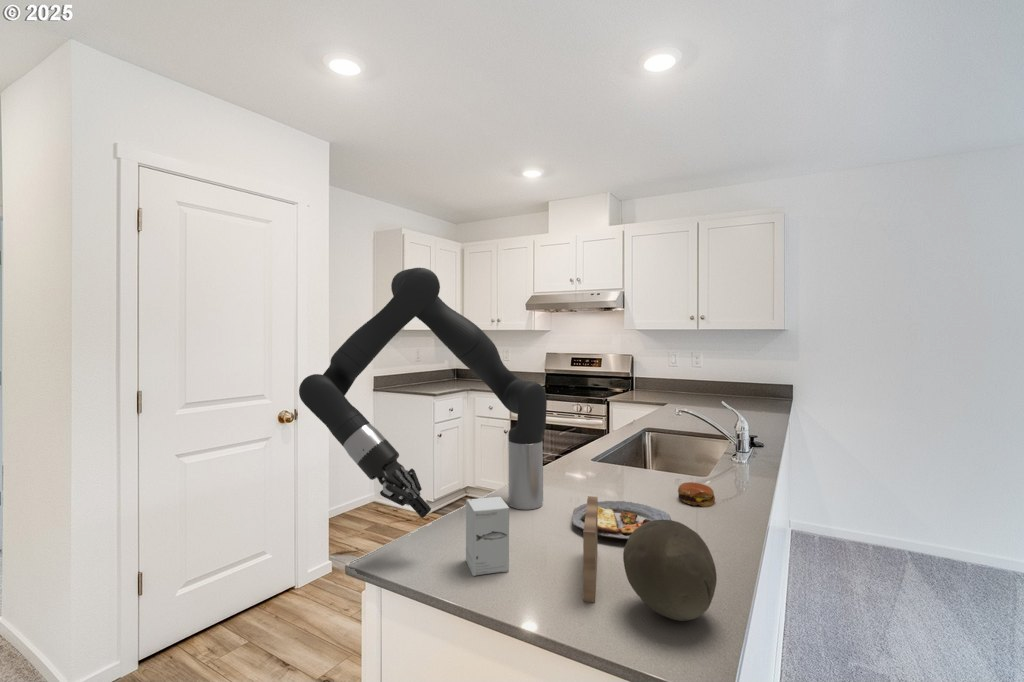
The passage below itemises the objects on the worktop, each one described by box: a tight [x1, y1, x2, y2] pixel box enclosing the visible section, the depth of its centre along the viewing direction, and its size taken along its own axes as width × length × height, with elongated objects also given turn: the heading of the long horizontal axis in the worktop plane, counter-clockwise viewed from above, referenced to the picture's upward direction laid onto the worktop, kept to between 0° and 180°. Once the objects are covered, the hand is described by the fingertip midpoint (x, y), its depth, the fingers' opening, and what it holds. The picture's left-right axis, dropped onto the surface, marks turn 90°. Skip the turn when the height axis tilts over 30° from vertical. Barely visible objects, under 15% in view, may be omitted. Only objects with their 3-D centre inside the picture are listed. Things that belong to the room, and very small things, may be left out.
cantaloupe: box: [622, 519, 717, 622], centre depth 81 cm, size 14×14×15 cm
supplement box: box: [465, 496, 510, 577], centre depth 98 cm, size 7×7×13 cm
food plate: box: [571, 500, 672, 541], centre depth 119 cm, size 25×23×4 cm
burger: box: [677, 482, 716, 508], centre depth 136 cm, size 10×9×5 cm
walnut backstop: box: [582, 495, 599, 603], centre depth 94 cm, size 19×2×12 cm, turn 169°
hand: (427, 513), depth 101 cm, fingers closed
